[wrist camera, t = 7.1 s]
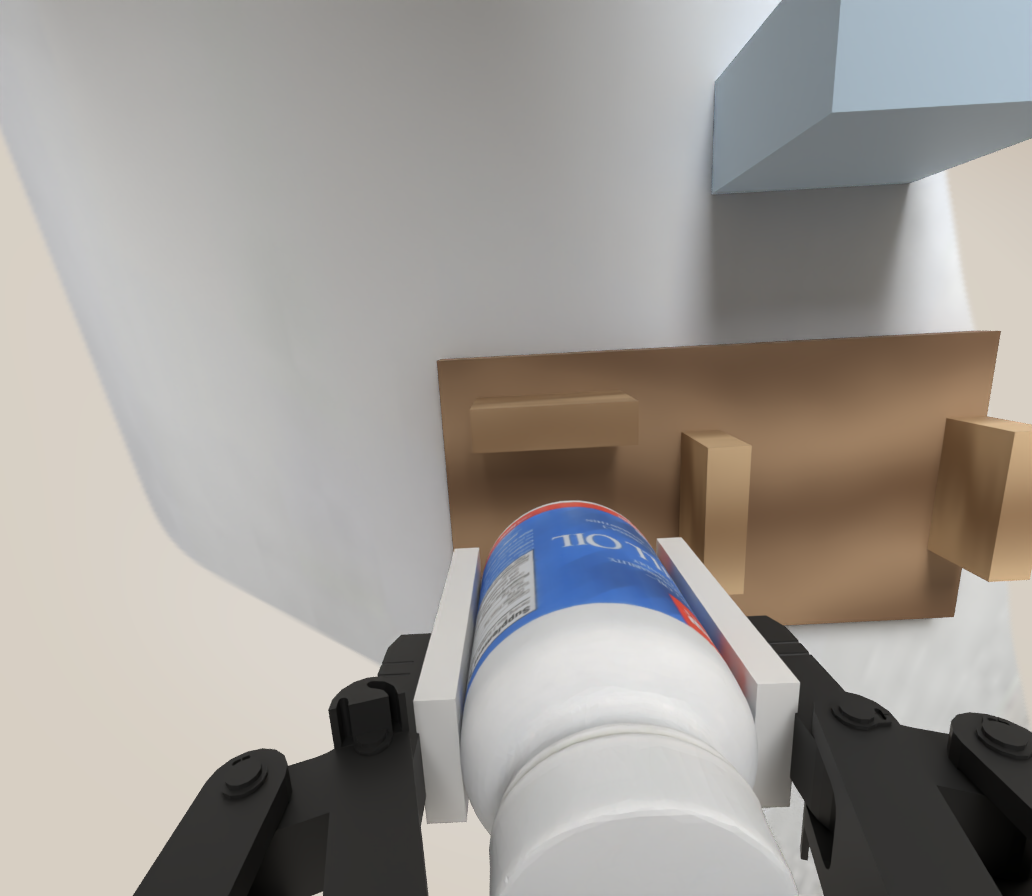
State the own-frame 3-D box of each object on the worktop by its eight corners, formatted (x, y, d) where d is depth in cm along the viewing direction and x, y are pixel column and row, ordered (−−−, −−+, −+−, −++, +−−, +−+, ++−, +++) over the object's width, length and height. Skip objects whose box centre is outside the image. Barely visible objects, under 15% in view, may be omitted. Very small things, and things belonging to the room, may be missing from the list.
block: (714, 82, 20) (847, -81, 12) (922, 70, 19) (1193, -102, 12) (710, 194, 20) (831, 112, 13) (909, 183, 20) (1152, 93, 13)
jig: (440, 359, 22) (423, 366, 18) (974, 330, 22) (1087, 331, 17) (463, 626, 25) (453, 688, 21) (932, 603, 25) (1021, 660, 20)
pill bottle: (688, 549, 16) (963, 886, 6) (593, 679, 17) (704, 1139, 7) (539, 461, 15) (590, 687, 5) (449, 602, 16) (360, 1000, 6)
